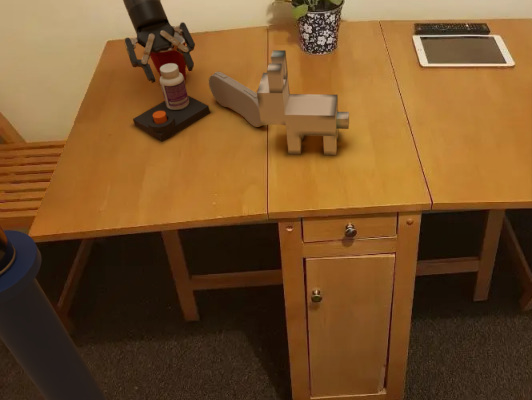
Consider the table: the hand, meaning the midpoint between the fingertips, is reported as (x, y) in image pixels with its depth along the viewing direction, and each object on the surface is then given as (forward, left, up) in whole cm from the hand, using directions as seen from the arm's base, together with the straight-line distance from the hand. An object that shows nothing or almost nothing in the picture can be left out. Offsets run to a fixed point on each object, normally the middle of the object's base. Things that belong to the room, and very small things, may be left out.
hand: (172, 75), depth 128 cm
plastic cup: (+8, +13, -10) cm, 19 cm away
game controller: (+8, -11, -10) cm, 17 cm away
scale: (-3, 0, -10) cm, 10 cm away
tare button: (-7, -2, -7) cm, 10 cm away
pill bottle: (0, +1, -8) cm, 9 cm away
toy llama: (+9, -31, -10) cm, 34 cm away
